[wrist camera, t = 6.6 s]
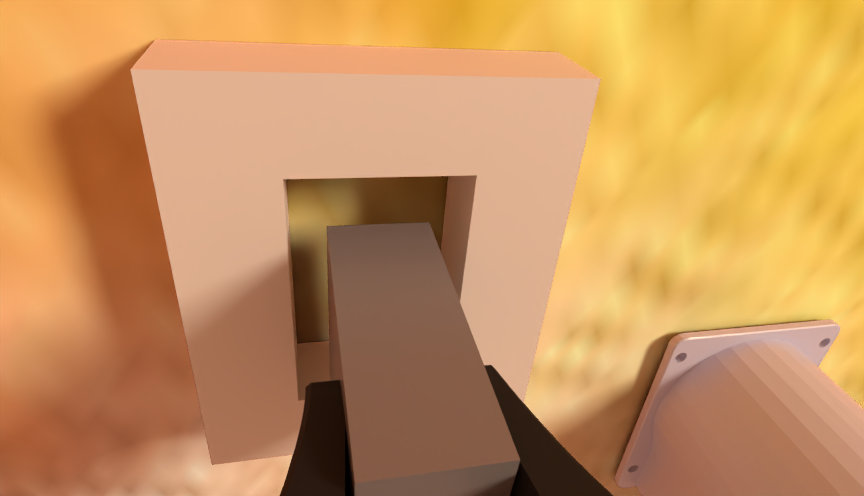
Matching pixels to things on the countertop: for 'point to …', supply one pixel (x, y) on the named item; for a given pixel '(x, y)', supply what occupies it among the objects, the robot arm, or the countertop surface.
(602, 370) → the countertop surface
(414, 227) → the key peg
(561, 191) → the socket block
